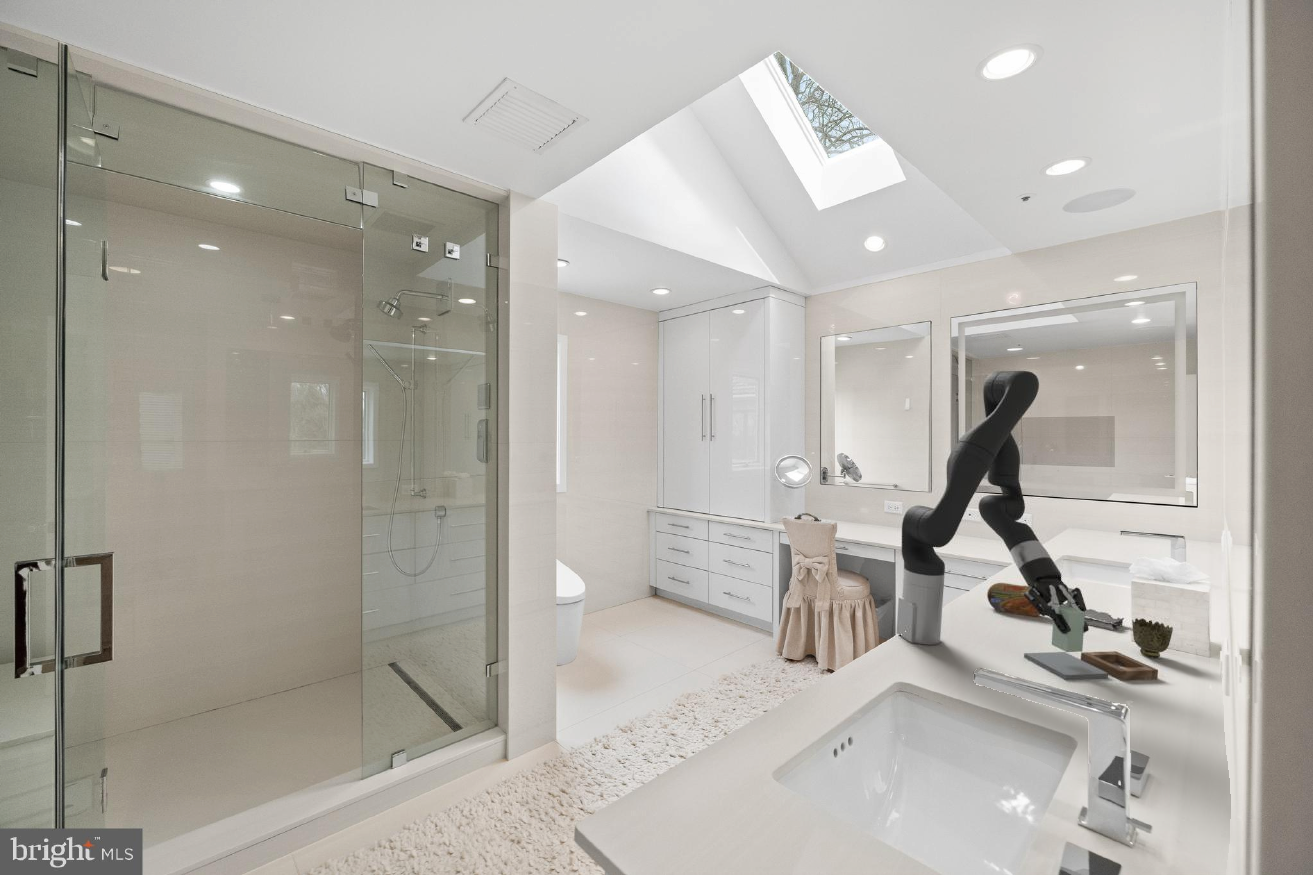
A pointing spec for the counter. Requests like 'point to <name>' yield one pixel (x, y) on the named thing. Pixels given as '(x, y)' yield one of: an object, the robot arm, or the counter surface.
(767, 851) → the counter surface
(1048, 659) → the slate coaster
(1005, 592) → the tin
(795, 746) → the counter surface
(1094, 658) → the walnut pocket
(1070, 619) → the sage block
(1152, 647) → the cup
